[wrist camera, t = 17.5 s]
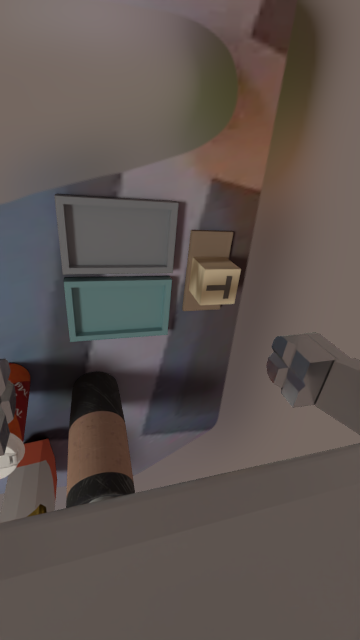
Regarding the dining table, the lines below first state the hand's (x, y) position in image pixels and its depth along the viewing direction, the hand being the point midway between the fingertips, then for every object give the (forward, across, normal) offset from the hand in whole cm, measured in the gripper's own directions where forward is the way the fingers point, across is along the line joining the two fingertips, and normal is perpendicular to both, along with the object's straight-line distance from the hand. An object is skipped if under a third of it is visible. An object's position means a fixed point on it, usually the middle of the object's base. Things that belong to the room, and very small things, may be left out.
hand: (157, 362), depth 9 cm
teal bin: (+31, -2, +14) cm, 34 cm away
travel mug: (+31, +2, +29) cm, 43 cm away
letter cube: (+30, -14, +9) cm, 35 cm away
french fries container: (+31, +12, +42) cm, 54 cm away
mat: (+31, -14, +9) cm, 35 cm away
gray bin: (+31, -2, +4) cm, 31 cm away
